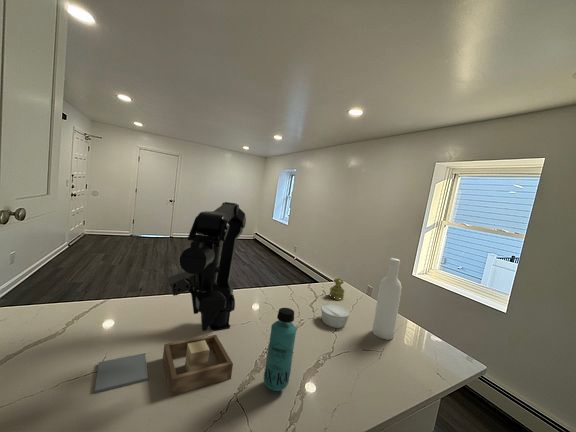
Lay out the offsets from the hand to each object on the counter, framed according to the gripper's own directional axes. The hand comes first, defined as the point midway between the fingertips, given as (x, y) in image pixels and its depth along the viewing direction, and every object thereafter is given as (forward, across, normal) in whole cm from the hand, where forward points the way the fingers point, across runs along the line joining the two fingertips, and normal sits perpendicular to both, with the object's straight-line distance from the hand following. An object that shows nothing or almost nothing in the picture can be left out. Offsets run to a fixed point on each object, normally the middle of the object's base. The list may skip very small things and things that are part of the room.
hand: (199, 321), depth 64 cm
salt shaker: (+13, -28, +77) cm, 83 cm away
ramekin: (+13, -8, +56) cm, 58 cm away
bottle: (+13, +6, +70) cm, 71 cm away
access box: (+13, 0, 0) cm, 13 cm away
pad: (+13, -4, -16) cm, 21 cm away
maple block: (+13, 0, 0) cm, 13 cm away
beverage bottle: (+13, +14, +17) cm, 25 cm away
